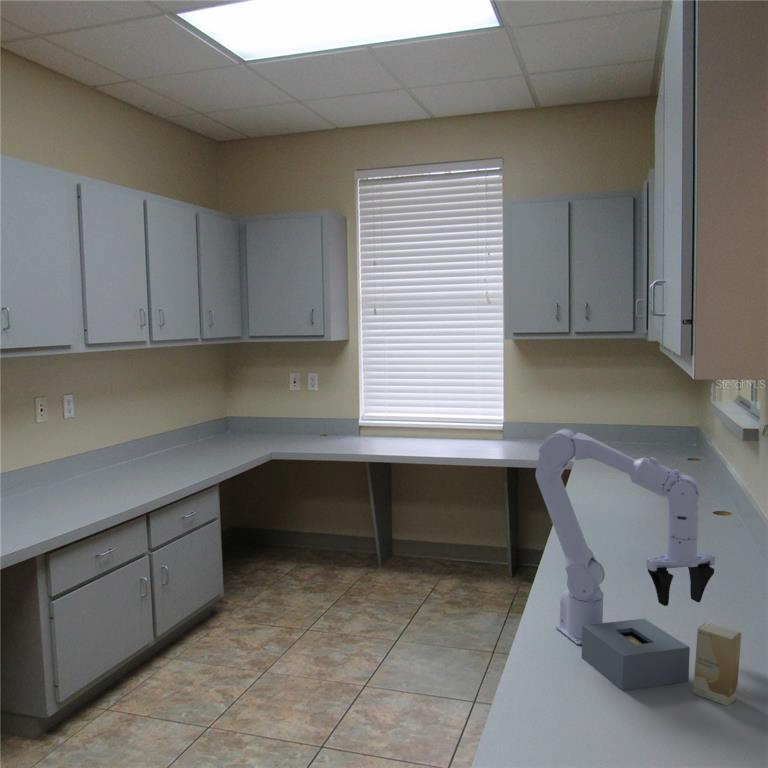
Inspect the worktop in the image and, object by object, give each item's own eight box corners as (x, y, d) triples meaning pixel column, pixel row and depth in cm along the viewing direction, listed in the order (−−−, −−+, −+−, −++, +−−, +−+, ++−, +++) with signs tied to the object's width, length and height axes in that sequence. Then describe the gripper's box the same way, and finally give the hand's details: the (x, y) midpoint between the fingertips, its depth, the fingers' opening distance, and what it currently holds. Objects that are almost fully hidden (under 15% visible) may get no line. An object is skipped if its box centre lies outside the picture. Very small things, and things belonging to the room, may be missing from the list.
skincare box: (692, 694, 132) (695, 627, 131) (702, 685, 135) (704, 620, 134) (729, 707, 127) (732, 638, 126) (739, 698, 130) (742, 631, 129)
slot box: (581, 657, 146) (582, 625, 146) (642, 649, 150) (643, 618, 149) (622, 690, 133) (623, 655, 132) (688, 681, 136) (689, 647, 136)
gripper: (663, 544, 141) (660, 613, 142) (726, 538, 145) (724, 606, 146) (641, 534, 148) (638, 600, 149) (702, 529, 152) (699, 593, 153)
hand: (679, 602), depth 148 cm, fingers open, 7 cm apart
